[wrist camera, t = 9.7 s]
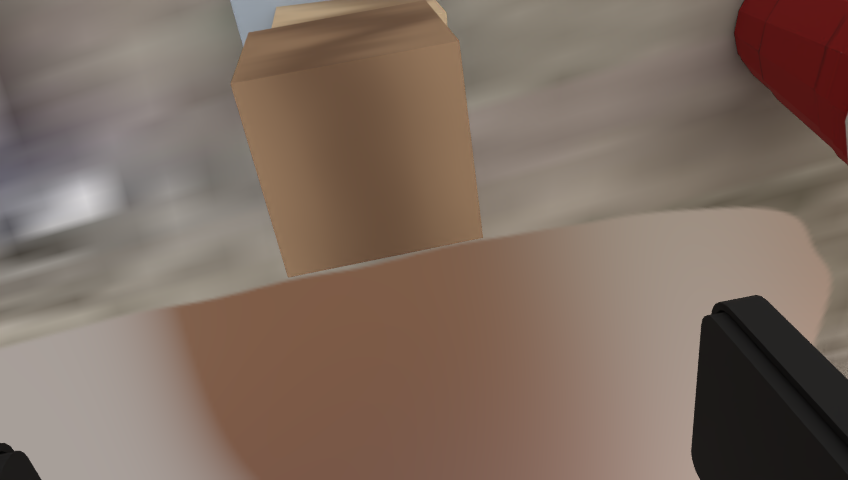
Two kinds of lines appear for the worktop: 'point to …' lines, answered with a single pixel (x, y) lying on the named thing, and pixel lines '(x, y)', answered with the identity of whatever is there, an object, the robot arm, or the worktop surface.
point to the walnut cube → (360, 135)
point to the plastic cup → (801, 60)
